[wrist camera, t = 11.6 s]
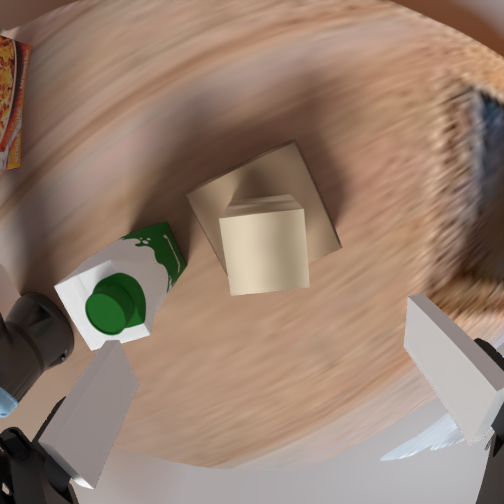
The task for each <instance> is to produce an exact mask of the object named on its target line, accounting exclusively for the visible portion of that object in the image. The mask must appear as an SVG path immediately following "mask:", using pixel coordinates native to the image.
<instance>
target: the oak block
mask: <svg viewBox="0 0 504 504" xmlns="http://www.w3.org/2000/svg"><path fill="white" fill-rule="evenodd" d="M219 223H220V229H221V236H222V242H223V249H224V255H225V261H226V267H227V273H228V279H229V285H230V291H231V296H232V295H243V294H252V293H262V292H271V291H280V290H289V289H297V288H306V287H309V271H308V256H307V242H306V229H305V217H304V209H303V207H302V206H301V205H300V204H299V203H298V202H297V201H296V200H295V199H294V198H293V197H292V196H291V194H285V195H276V196H267V197H258V198H250V199H242V200H234V201H230V203H229V204H228V206H227V207H226V209H225V210H224V212H223V213H222V215H221V216H220V218H219Z"/></svg>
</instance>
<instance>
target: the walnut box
mask: <svg viewBox="0 0 504 504" xmlns="http://www.w3.org/2000/svg"><path fill="white" fill-rule="evenodd" d="M285 194H291V196H292V197H293V198H294V199H295V200H296V201H297V202H298V203H299V204H300V205H301V206H302V207H303V209H304V217H305V229H306V242H307V256H308V264H309V263H311V262H313V261H315V260H317V259H319V258H322V257H324V256H326V255H328V254H330V253H332V252H334V251H337V250H339V249H341V248H342V245H341V243H340V240H339V238H338V235H337V233H336V230H335V228H334V225H333V223H332V220H331V218H330V215H329V213H328V211H327V208H326V206H325V203H324V201H323V199H322V196H321V194H320V192H319V190H318V187H317V185H316V183H315V181H314V178H313V176H312V174H311V172H310V170H309V167H308V165H307V163H306V161H305V159H304V157H303V154H302V152H301V150H300V148H299V146H298V144H297V142H296V140H295V139H293V140H290V141H288V142H286V143H283V144H281V145H279V146H277V147H275V148H272V149H270V150H268V151H266V152H264V153H261V154H259V155H257V156H255V157H253V158H251V159H249V160H247V161H245V162H242V163H240V164H238V165H236V166H234V167H232V168H230V169H228V170H226V171H224V172H222V173H220V174H218V175H216V176H214V177H212V178H210V179H208V180H207V181H205V182H203V183H201V184H199V185H197V186H195V187H193V188H191V189H189V190H188V191H186V192H184V195H185V197H186V199H187V201H188V203H189V205H190V207H191V208H192V210H193V212H194V214H195V216H196V218H197V220H198V222H199V224H200V226H201V228H202V229H203V231H204V233H205V235H206V237H207V239H208V241H209V243H210V244H211V246H212V248H213V250H214V252H215V254H216V256H217V257H218V259H219V261H220V263H221V265H222V267H223V269H224V270H225V272H226V274H227V276H228V273H227V267H226V261H225V255H224V249H223V242H222V236H221V229H220V223H219V218H220V216H221V215H222V213H223V212H224V210H225V209H226V207H227V206H228V204H229V203H230V201H234V200H242V199H250V198H258V197H267V196H276V195H285Z"/></svg>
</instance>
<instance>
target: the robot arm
mask: <svg viewBox="0 0 504 504" xmlns="http://www.w3.org/2000/svg"><path fill="white" fill-rule="evenodd" d="M73 346H74V341H73V335H72V331H71V329H70V326H69V324H68V322H67V320H66V318H65V317H64V315H63V314H62V313H61V311H60V310H59V309H58V308H57V306H56V305H55V304H54V303H53V302H51V301H50V300H49V299H48V298H46V297H44V296H43V295H41V294H38V293H33V292H30V293H26V294H25V295H23V296H22V297H20V298H19V299H18V300H17V301H16V302H15V304H14V305H13V307H12V309H11V311H10V312H9V314H8V316H7V318H6V320H5V321H4V320H3V318H2V315H1V313H0V417H6V416H8V415H9V414H10V413H11V412H12V411H13V410H14V409H15V407H17V406H18V405H19V402H20V401H21V400H22V398H23V397H24V396H25V395H26V393H27V392H28V390H29V389H30V388H31V387H32V386H33V384H34V383H35V382H36V381H37V379H38V378H39V377H40V376H41V375H42V373H43V372H44V371H46V370H49V369H51V368H53V367H55V366H57V365H59V364H61V363H63V362H64V361H65V360H66V359H67V358H68V357H69V356H70V354H71V353H72V351H73ZM403 347H404V348H405V349H406V351H407V352H408V354H409V355H410V356H411V358H412V359H413V361H414V362H415V363H416V365H417V366H418V368H419V369H420V371H421V372H422V373H423V375H424V376H425V378H426V379H427V381H428V382H429V384H430V385H431V387H432V388H433V390H434V391H435V393H436V394H437V396H438V397H439V399H440V400H441V402H442V403H443V405H444V406H445V408H446V409H447V411H448V412H449V414H450V415H451V417H452V419H453V420H454V422H455V423H456V425H457V427H458V428H459V430H460V431H461V433H462V435H463V436H464V438H465V440H466V441H467V443H468V445H471V444H473V443H475V442H477V441H479V440H480V439H482V438H484V437H485V436H486V434H487V433H488V431H489V429H490V428H491V427H492V428H493V429H494V431H495V433H494V434H493V436H492V437H491V439H490V441H489V442H488V444H487V446H486V448H485V450H487V449H488V448H489V446H490V445H491V447H490V452H489V457H488V461H487V465H486V470H485V474H484V477H483V481H482V485H481V488H480V491H479V495H478V498H477V501H476V504H504V358H503V357H502V355H501V354H500V353H499V352H497V351H496V349H495V348H494V347H493V346H492V345H490V344H489V343H488V342H486V341H484V340H482V339H480V338H477V339H475V340H472V339H471V338H470V337H469V336H468V335H467V334H466V333H465V332H464V331H463V330H462V329H461V328H460V327H459V326H458V325H457V324H456V323H455V322H454V321H453V320H451V319H450V318H449V317H448V316H447V315H446V314H445V313H444V312H443V311H442V310H441V309H439V308H438V307H437V306H436V305H435V304H434V303H433V302H432V301H431V300H429V299H428V298H427V297H426V296H425V295H424V294H423V293H420V294H416V295H412V296H408V304H407V317H406V328H405V337H404V346H403ZM138 386H139V382H138V380H137V378H136V376H135V374H134V372H133V370H132V368H131V366H130V363H129V361H128V359H127V357H126V354H125V352H124V350H123V348H122V345H121V343H120V341H119V340H106V341H105V343H104V344H103V345H102V347H101V348H100V349H99V351H98V352H97V354H96V355H95V356H94V358H93V359H92V361H91V362H90V363H89V365H88V366H87V368H86V369H85V370H84V372H83V373H82V375H81V376H80V378H79V379H78V380H77V382H76V383H75V385H74V386H73V388H72V389H71V391H70V392H69V394H68V395H67V397H66V396H65V397H64V398H63V399H61V400H60V401H59V402H58V403H57V404H56V405H55V407H54V408H53V410H52V411H51V413H50V414H49V416H48V417H47V420H45V422H44V423H43V425H42V426H41V428H40V430H39V431H38V433H37V434H36V436H35V438H34V439H33V440H32V442H30V441H29V440H28V438H27V437H26V436H25V435H24V433H23V432H22V431H21V430H20V429H19V428H17V427H9V428H7V429H5V430H4V431H3V432H2V433H1V434H0V447H1V448H2V450H3V451H2V450H1V449H0V504H79V503H78V500H77V497H76V495H75V492H74V489H73V487H72V485H71V484H70V483H69V481H70V479H71V478H72V479H74V480H75V482H77V483H78V484H79V485H80V486H84V487H87V488H91V489H95V488H96V485H97V482H98V480H99V477H100V475H101V472H102V470H103V467H104V465H105V462H106V460H107V457H108V455H109V453H110V450H111V448H112V446H113V443H114V441H115V438H116V436H117V434H118V431H119V429H120V427H121V424H122V422H123V420H124V418H125V415H126V413H127V411H128V408H129V406H130V404H131V402H132V400H133V397H134V395H135V393H136V391H137V388H138ZM3 485H4V486H5V487H6V488H7V489H8V490H9V494H8V495H7V494H6V493H5V492H4V491H3V490H2V486H3Z"/></svg>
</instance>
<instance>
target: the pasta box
mask: <svg viewBox="0 0 504 504" xmlns="http://www.w3.org/2000/svg"><path fill="white" fill-rule="evenodd" d="M31 50H32V47H31V46H28V45H26V44H23V43H20V42H18V41H15V40H12V39H9V38H7V37H4V36H1V35H0V172H1V171H5V170H10V169H14V168H19V167H21V159H20V154H21V124H22V110H23V100H24V91H25V84H26V77H27V71H28V65H29V60H30V55H31Z"/></svg>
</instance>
